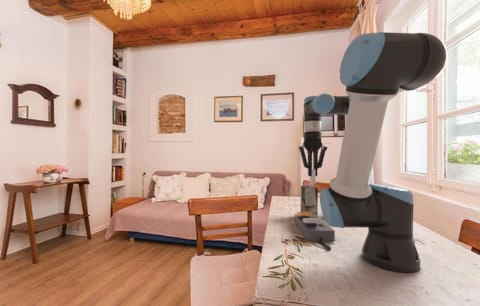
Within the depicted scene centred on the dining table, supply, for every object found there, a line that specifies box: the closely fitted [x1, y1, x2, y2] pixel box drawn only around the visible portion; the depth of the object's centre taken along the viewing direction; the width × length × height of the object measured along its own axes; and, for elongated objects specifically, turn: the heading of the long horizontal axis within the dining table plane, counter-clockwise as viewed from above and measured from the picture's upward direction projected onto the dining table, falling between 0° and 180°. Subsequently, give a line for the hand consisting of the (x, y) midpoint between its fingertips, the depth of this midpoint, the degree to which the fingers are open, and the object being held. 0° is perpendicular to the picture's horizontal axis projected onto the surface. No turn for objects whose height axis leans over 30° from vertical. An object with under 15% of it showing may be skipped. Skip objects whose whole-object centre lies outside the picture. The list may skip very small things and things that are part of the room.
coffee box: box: [300, 184, 319, 216], centre depth 117 cm, size 9×6×16 cm
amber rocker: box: [296, 211, 313, 216], centre depth 103 cm, size 7×5×2 cm
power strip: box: [294, 214, 336, 251], centre depth 94 cm, size 30×10×5 cm, turn 0°
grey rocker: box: [303, 218, 321, 223], centre depth 93 cm, size 7×5×2 cm
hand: (312, 183), depth 104 cm, fingers closed
